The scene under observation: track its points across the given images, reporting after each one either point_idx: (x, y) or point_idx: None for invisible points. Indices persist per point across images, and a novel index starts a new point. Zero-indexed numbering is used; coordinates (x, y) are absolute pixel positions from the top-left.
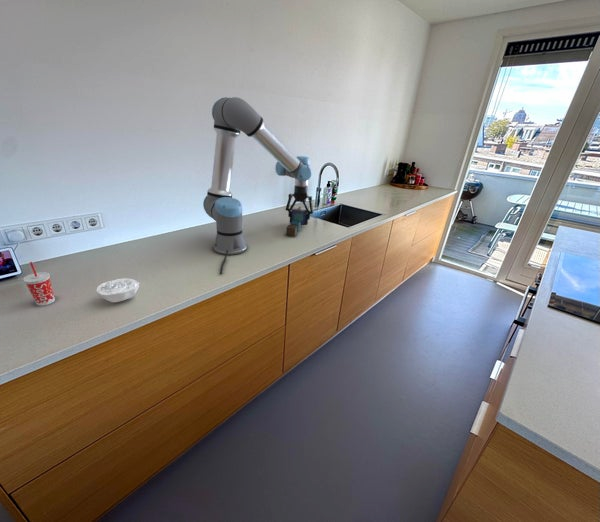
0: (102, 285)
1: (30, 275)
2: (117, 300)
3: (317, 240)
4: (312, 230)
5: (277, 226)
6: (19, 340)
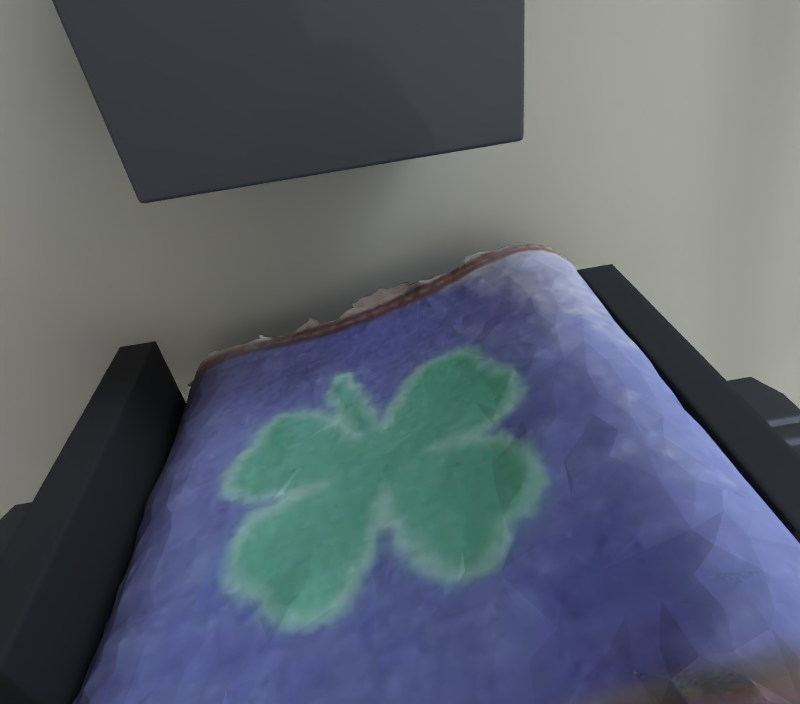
0: None
1: None
2: None
3: None
4: (699, 328)
5: (24, 499)
6: None
